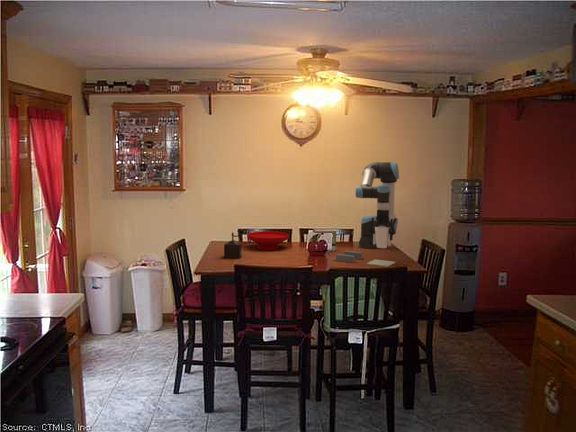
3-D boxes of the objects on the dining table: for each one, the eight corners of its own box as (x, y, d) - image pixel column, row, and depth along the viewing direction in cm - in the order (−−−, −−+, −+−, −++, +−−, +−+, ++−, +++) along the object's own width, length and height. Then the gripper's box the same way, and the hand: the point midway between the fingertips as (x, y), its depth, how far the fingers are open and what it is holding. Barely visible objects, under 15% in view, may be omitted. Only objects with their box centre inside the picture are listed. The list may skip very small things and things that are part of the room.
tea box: (316, 251, 369) (316, 231, 367) (311, 249, 379) (312, 229, 377) (336, 250, 373) (336, 230, 371) (331, 248, 383) (331, 228, 381)
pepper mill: (240, 259, 341) (240, 231, 339) (223, 258, 342) (223, 231, 340) (244, 254, 356) (243, 228, 354) (227, 254, 357) (227, 228, 355)
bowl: (249, 244, 398) (249, 231, 397) (289, 244, 397) (289, 231, 396) (244, 251, 368) (244, 237, 367) (288, 252, 367) (288, 238, 366)
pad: (375, 260, 340) (375, 259, 340) (395, 262, 333) (395, 261, 333) (366, 264, 328) (366, 263, 328) (388, 266, 321) (388, 265, 321)
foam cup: (387, 246, 334) (388, 226, 333) (390, 248, 325) (391, 227, 324) (372, 246, 334) (373, 225, 332) (375, 248, 324) (376, 227, 323)
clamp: (343, 256, 353) (343, 250, 352) (362, 258, 346) (362, 252, 345) (333, 260, 339) (333, 254, 339) (352, 262, 332) (353, 256, 332)
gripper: (364, 208, 329) (363, 243, 332) (398, 210, 318) (396, 247, 320) (368, 207, 336) (367, 242, 338) (402, 209, 324) (400, 245, 327)
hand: (381, 244), depth 329 cm, fingers closed on foam cup, 9 cm apart
